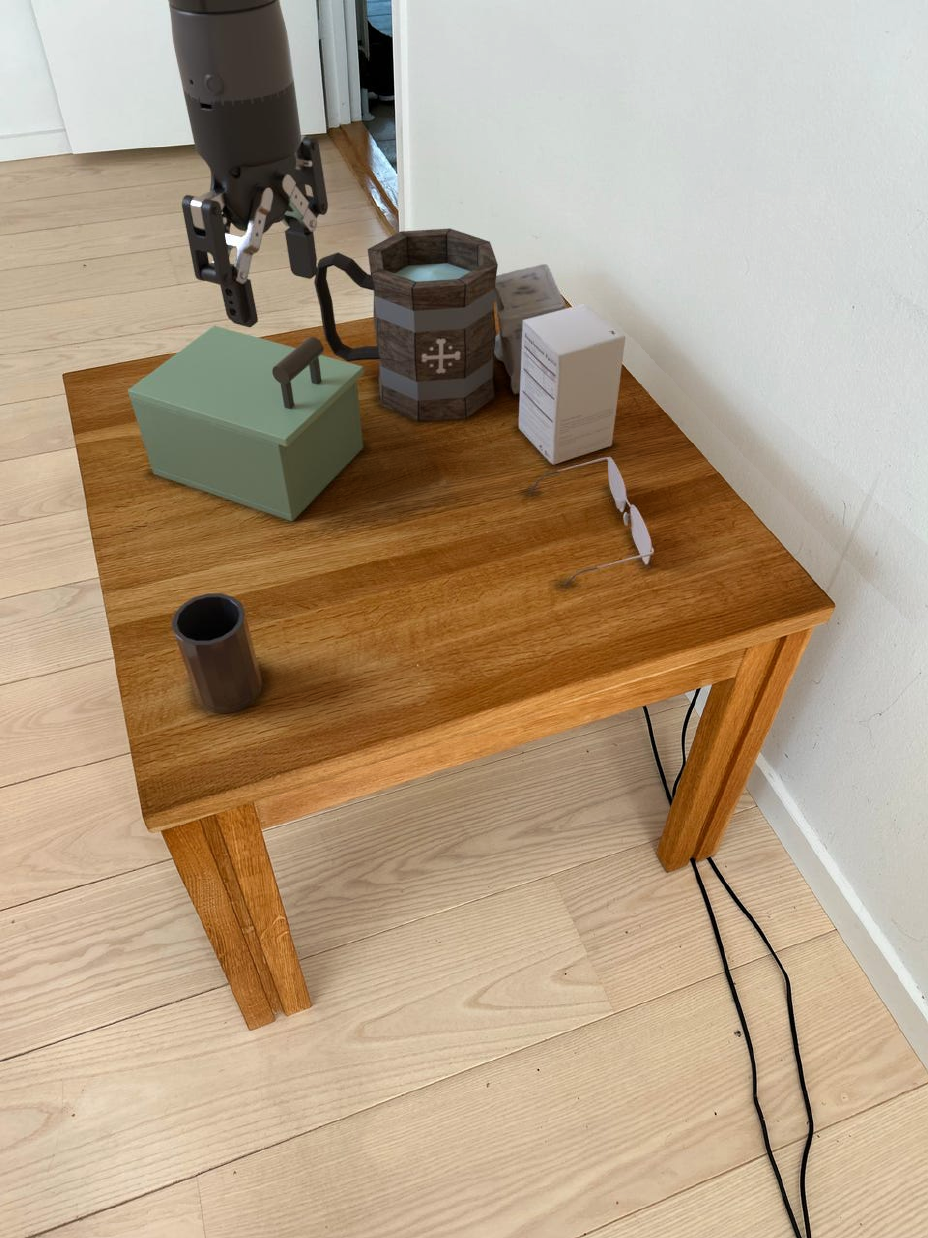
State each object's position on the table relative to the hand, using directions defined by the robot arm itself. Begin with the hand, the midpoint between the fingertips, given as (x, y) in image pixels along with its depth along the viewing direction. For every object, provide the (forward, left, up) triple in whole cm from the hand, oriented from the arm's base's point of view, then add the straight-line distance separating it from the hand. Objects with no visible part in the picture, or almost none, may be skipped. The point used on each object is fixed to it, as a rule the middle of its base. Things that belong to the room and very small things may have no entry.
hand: (275, 298), depth 75 cm
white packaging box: (+27, -1, -21) cm, 34 cm away
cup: (-13, -20, -21) cm, 32 cm away
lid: (-2, +7, -12) cm, 14 cm away
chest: (-3, +8, -21) cm, 22 cm away
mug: (+16, +15, -21) cm, 30 cm away
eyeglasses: (+22, -15, -21) cm, 34 cm away
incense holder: (+29, +12, -21) cm, 38 cm away
